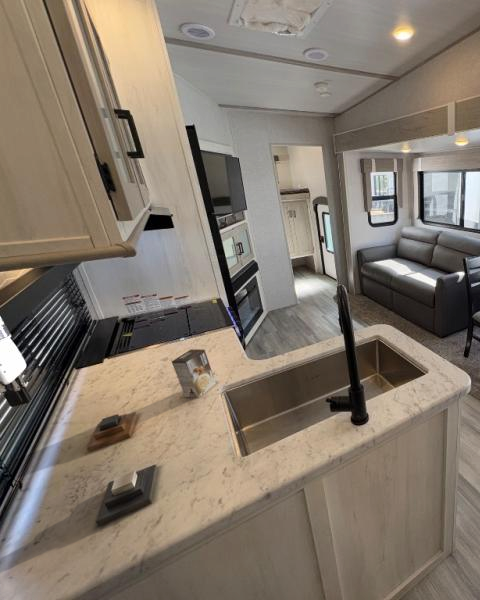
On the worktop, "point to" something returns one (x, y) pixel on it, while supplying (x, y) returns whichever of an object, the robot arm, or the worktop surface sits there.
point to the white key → (124, 483)
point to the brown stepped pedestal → (113, 432)
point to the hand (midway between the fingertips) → (22, 403)
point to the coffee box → (194, 372)
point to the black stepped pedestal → (128, 497)
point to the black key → (109, 422)
